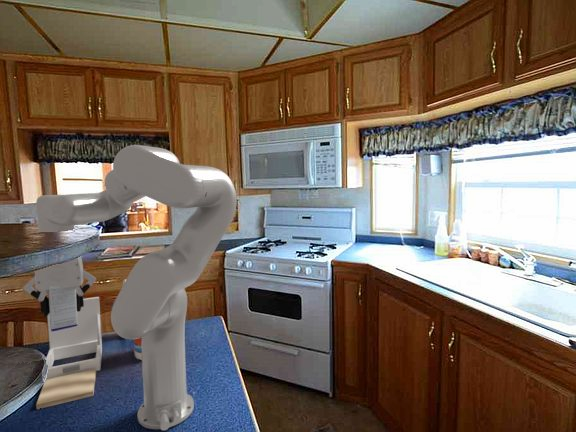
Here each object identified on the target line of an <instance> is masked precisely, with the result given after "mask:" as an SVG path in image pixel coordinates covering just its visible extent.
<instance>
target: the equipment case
mask: <svg viewBox="0 0 576 432" xmlns="http://www.w3.org/2000/svg"><path fill="white" fill-rule="evenodd" d="M83 301H84V307H81V310H80V311H79V312H78V311H77V322H78V325H77V326H75V327H71V328H66V329H62V330H58V331H53V332H51V327H50V313H49V314H48V316H46V317H47V329H48V340H49V341H48V342H49V350H48V353H47V355H46V358H45V360H47V365H48V373H47V378H46V379H51V378H55V377H60V376H65V375H69V374H74V373H79V372H83V371H88V370H93V369H96V372H98V371H101V365H102V353H103V342H102V325H101V324H102V322H101V307H100V306H101V305H100V296H95V297H87V298H83ZM93 353H95V357H94V358H89V359H85V360H80V361H75V362H70V363H66V364H60V365H54V361H56V360H57V361H58V360H63V359H68V358H74V357H78V356H83V355H89V354H93ZM53 365H54V366H53Z"/></svg>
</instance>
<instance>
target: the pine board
mask: <svg viewBox="0 0 576 432" xmlns="http://www.w3.org/2000/svg"><path fill="white" fill-rule="evenodd" d="M96 376H97V371H96V369H93V370H88V371H83V372H79V373H74V374H69V375H65V376H60V377H55V378H51V379H46V380H45V382H44V383H43V386H42V388H41V390H40V394H39V396H38V399H37V401H36V404H35V407H36V409H37V410H40V408H41V409H44V408H49V407H54V406H57V405H62V404H64V403H65V404H66V403H69V402H72V401H73V402H74V401H77V400H82V399H85V398H89V397H93V396H94V393H95V384H96Z"/></svg>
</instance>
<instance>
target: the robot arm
mask: <svg viewBox="0 0 576 432" xmlns="http://www.w3.org/2000/svg"><path fill="white" fill-rule="evenodd" d="M104 186H105V189H104V190H103V191H101V192H97V193H96V192H93V193H92V192H91V193H89V192H88V193H87V192H86V193H71V194H70V193H68V194H46V195H40V196H38V197H37V199H36V202H35V203H36V214H37V226H38V227H37V229H38V233H39V232H58V231H68V230H73V229H74V230H75V226H81V225H82V226H83V225H87V224H94V223H100V222H101V223H102V222H105V221H108V220H109V221H110V220H111V219H113V218H115V217H117V216H120V215H122V214H124V213H125V212H127V211H128V210H130V209H131V208H132V206H133V205H134V203H136V202H137V201H138V200H139V201H140V200H141V199H143V198H145V197H147V198H150V199H151V200H154V201H156V202H158V203H161V204H163V205H165V206H168V207H170V208H173V209H191V208H196V209H195V210H194V212H193V213H192V214H191V215H190V216H189V217H188V219H187V220H186V221H185V222H184V223H183V225H182V226H181V228H180V230H179V233H178V234H177V236H176V238H174V240H173V241H172V243H171V244H170V245H167V247H164V248H161V249H158V250H154V251H152V252H149V253H147V254H145V255H144V256H142V257H141V258H140V259H138V261H136V263H135V264H134V266H133V267H132V269H131V271H130V272H129V274H128V276H127V277H126V281H125V283H124V285H123V284H122V286H121V289H120V291H119V293H118V294H117V296H116V298H115V300H114V302H113V305H112V308H111V312H110V321H111V326H112V328H113V331H115V333H116V334H117V335H118V336H119V337H121V338H122V339H125V340H134V339H138V338H141V337H142V342H141V350H142V360H141V367H142V370H141V371H142V386H143V390H142V391H143V403H142V404H141V405H140V407H139V408H138V411H137V416H136V417H137V421H138V424H140V425H141V426H142V427H144V428H146V429H149V430H161V431H164V432H165V431H167V430H168V429H169V428H171V427H172V428H173V427H174V426H177V425H179V424H181V423H182V422H184V421H186V419H189V416H191V414H192V413H193V411H194V408H195V402H194V397H192V395H190V393H189V394H188V393H187V368H186V367H187V366H186V342H185V341H186V338H185V337H186V336H185V334H186V333H185V328H186V325H185V324H186V317H187V311H188V309H187V308H188V296H187V295H188V294H187V291H186V290H185V289H186V288H187V287H190V286H191V285H193V284H194V283H196V282H197V280H198V279H199V278H200V276H201V274H202V273H203V271H204V269H205V267H206V266H207V264H208V262H209V261H210V260H211V257H212V256H213V255H214V254H215V253H214V252H215V251H216V249H217V247H218V246H219V244H220V242H221V240H222V239H223V237H224V236H225V234H226V232H227V231H228V229H229V227H230V226H231V224H232V222H233V219H234V217H235V213H236V211H237V204H238V202H237V201H238V200H237V199H238V198H237V192H236V188H235V186H234V184H233V182H232V180H231V178H230V177H229V175H228V174H226V173H225V172H224V171H223V170H221V169H219V168H217V167H213V166H208V165H193V164H183V163H180V160H179V158H178V157H177V156H176V155H175V154H174V153H173V152H172V151H170V150H168V149H165V148H162V147H158V146H157V147H156V146H150V145H144V144H143V145H141V144H131V145H127V146H125V147H123V148H122V149H121V150H119V151H118V153H116V154H115V157H114V159H113V164H112V169H111V170H110V171H109V172H108V173H107V174H106V175H105V178H104ZM85 279H86V280H87V282H86V283H85V284H84V285H83V283H84V280H85ZM96 281H97V277H95V276H94V275H93V274H91V273H89V272H88V271H86V270H84V265H83V259H82V255H81V256H80V257H78V258H76V259H74V260H72V261H69V262H66V263H62V264H56V265H52V266H49V267H46V268H43V269H40V270H37V271H35V270H34V277H33V278H31V279H30V280H29V281H28V282H27V283H26V284H25V285H24V286H23V287H22V290H23V291H24V292H26V293H27V294H29V295H30V296H32V297H33V298H35V299H36V300H38V302H40V313H42V314H43V317H47V316H48V314H49V297H48V296H47V295H48V294H49V292H48V291H49V286H59V287H60V289H63V288H75V287H76V304H77V311H78V312H79V311H80V310H81V307H84V301H83V299H84V294H85V293H86V292H87V291H88V290H89V289H90V288H91V287H92V286H93V285H94V283H95V282H96ZM82 285H83V286H82ZM33 286H35V287H33Z"/></svg>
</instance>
